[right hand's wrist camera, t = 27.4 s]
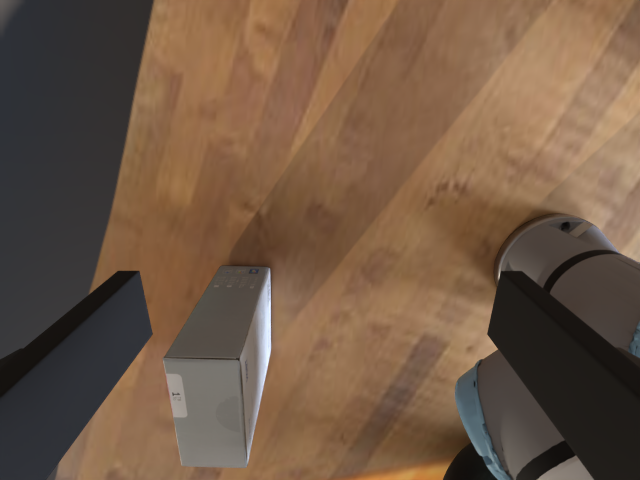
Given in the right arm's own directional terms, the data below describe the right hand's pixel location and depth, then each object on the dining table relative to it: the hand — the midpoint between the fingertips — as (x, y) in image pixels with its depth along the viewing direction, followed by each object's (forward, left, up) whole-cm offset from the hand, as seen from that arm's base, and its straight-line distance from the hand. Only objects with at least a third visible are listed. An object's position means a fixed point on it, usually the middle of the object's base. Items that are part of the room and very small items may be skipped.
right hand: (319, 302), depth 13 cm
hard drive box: (-6, +25, -35) cm, 44 cm away
